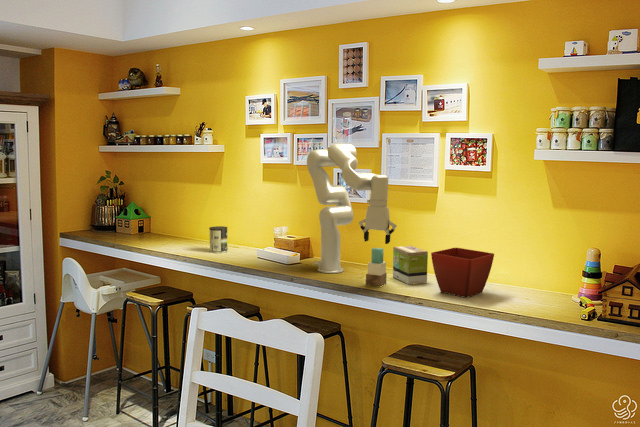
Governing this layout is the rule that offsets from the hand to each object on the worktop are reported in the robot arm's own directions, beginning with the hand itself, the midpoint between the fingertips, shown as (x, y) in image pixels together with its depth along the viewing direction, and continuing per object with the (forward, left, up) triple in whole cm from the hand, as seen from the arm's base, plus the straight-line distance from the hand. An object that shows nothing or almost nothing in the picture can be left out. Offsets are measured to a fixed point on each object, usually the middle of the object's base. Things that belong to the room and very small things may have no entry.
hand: (376, 242), depth 242 cm
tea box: (+11, +15, -19) cm, 26 cm away
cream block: (0, 0, -14) cm, 14 cm away
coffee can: (-108, +30, -19) cm, 114 cm away
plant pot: (+37, +4, -19) cm, 41 cm away
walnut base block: (0, 0, -19) cm, 19 cm away
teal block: (+1, 0, -9) cm, 9 cm away
